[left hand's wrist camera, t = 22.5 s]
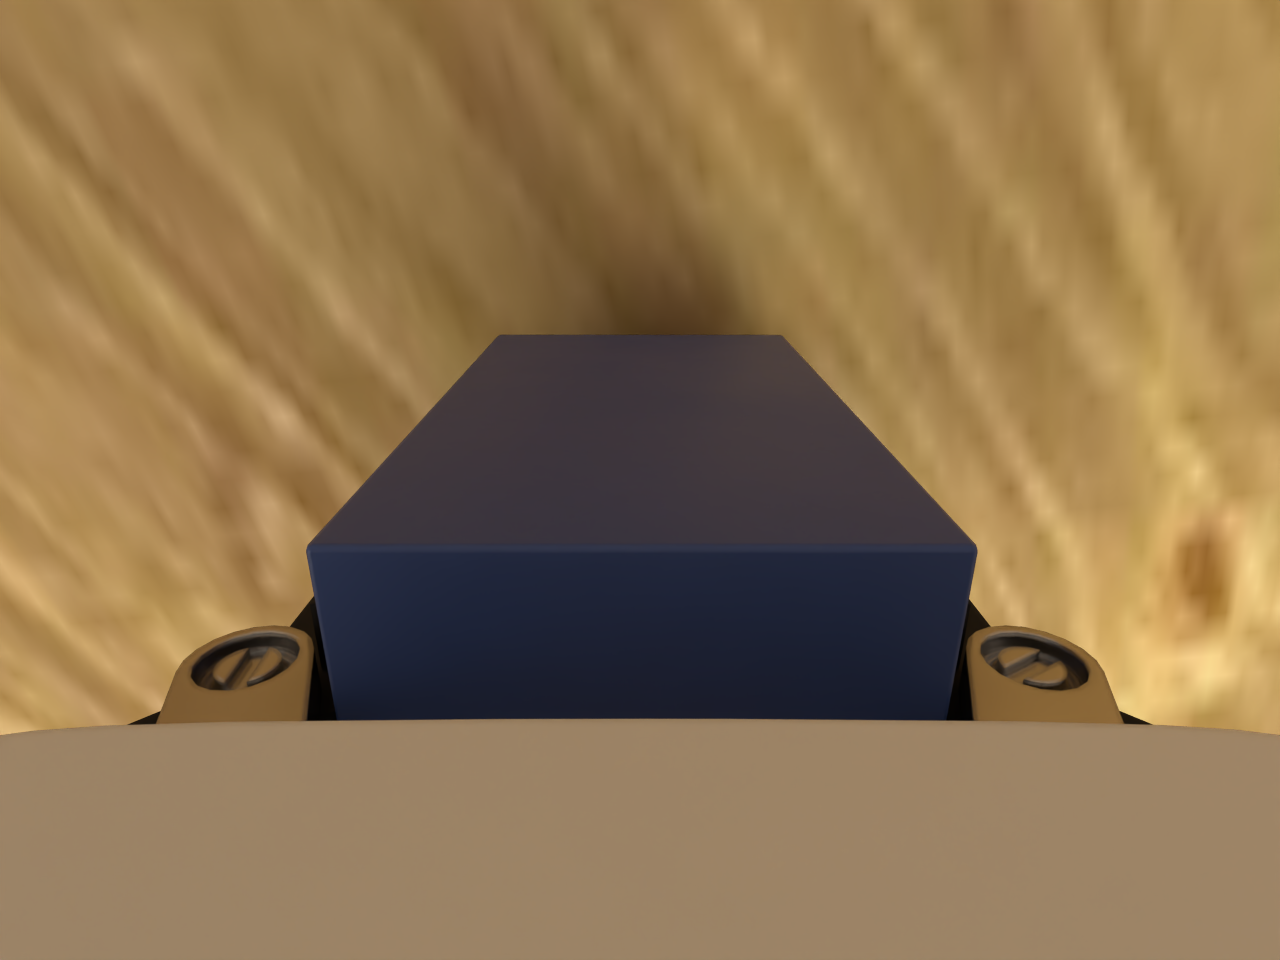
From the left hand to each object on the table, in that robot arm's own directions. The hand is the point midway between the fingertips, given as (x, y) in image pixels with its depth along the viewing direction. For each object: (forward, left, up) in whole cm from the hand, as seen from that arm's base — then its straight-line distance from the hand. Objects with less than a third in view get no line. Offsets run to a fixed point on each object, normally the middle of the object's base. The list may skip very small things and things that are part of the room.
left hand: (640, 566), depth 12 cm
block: (0, 0, -4) cm, 4 cm away
